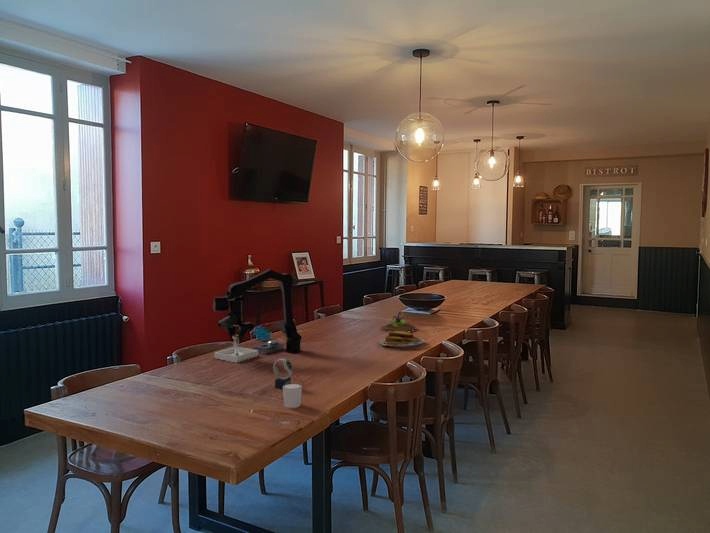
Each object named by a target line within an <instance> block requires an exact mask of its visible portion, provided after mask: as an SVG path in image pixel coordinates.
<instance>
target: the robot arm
mask: <svg viewBox="0 0 710 533" xmlns="http://www.w3.org/2000/svg"><path fill="white" fill-rule="evenodd" d="M269 279H273V280H276V281H278V285H279V288H280V290H281V295H282V309H283V310H282V311H283V322H281V323H280V327H281V328H280V331H281V332H282V334H283V335H284V336H285V337H286V342H285V347H286V348H285V350H284V353H289V354H290V353H291V354H297V353H299V352H302V351H303V349H301V340H302V337H303V336H302V335H300V333H298V330H297V326H296V323H295V321H294V313H293V302H292V301H293V299H292V289H293V283H294V279H293V276H292V275H291V274H289V273H285V272H284V273H283V272H282V273H280V272H278V271H275V270H273V269H266V270H265V271H263V272H260V273H259V274H257V275H254V276H252V277H250V278H248V279H246V280H243V281H238V282H234V283H232V284H230V285H229V286H228V289H227V290H228V291H226V293H225V295H224V296H214V297H213V302H212V309H213V312H226V311H227V310H229V312H228V311H227V316H226V317H224V318H223V319H220V320H219V321H218V322H217V326H218V327H221V328H222V329H223V330H226V332H227V333H228V336H229V338H230V342H232V343H234V341H233V339H232V335H236V331H237V333H238V334H237V335H238V336H239V344H241V343H242V342H243V340H244V337H245V335H246V333H247V331H250V330H255V323H254V322H252V321H246V322H245V321H244V320H243V315H244V313H245V312H244V311H243V304H242V303H243V302H244V301H247V298H245V297H244V295H243V294H245V293H246V292H247V291H248V290H249V289H250V288H253V287H255V286H257V285H259V284H260V283H263V282H265V281H267V280H269ZM236 328H238V329H236Z"/></svg>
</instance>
